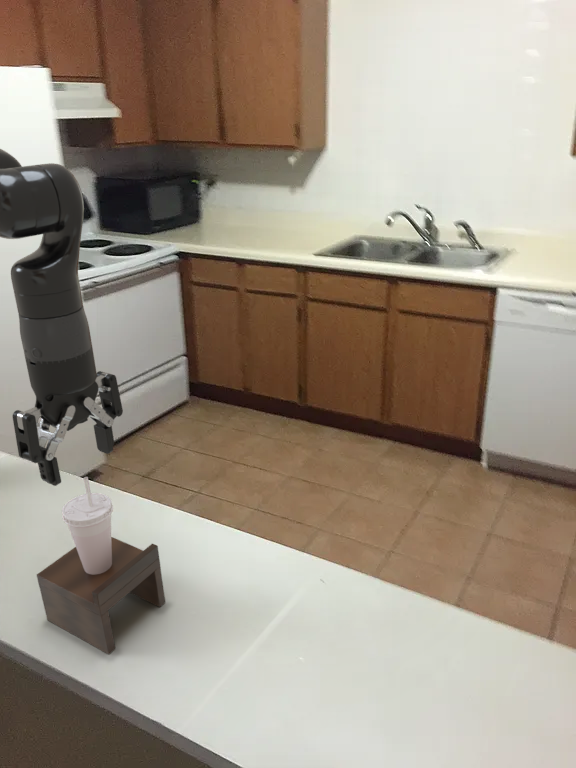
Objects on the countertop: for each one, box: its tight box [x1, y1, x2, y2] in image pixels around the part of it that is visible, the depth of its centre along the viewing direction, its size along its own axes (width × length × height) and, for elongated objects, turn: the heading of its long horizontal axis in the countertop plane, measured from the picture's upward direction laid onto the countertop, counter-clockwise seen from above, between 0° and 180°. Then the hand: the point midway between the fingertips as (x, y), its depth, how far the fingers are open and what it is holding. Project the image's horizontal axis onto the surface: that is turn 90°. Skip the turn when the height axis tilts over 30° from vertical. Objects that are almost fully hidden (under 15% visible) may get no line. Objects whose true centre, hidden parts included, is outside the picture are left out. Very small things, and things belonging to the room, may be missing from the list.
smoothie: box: [61, 476, 114, 575], centre depth 88 cm, size 6×6×14 cm
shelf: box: [36, 536, 166, 655], centre depth 92 cm, size 12×11×10 cm
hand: (80, 466), depth 84 cm, fingers open, 8 cm apart
